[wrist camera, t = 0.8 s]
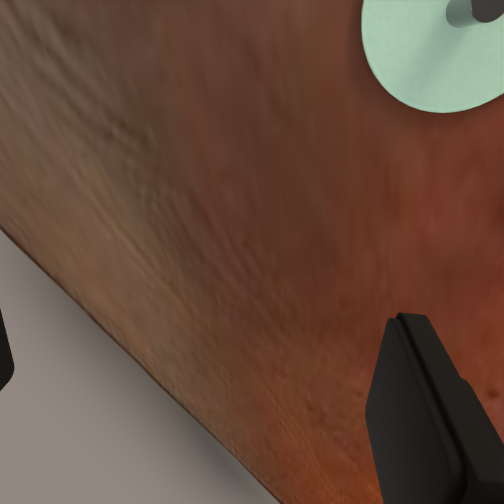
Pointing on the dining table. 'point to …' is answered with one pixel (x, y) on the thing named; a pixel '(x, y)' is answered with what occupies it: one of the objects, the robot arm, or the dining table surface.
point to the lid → (436, 51)
